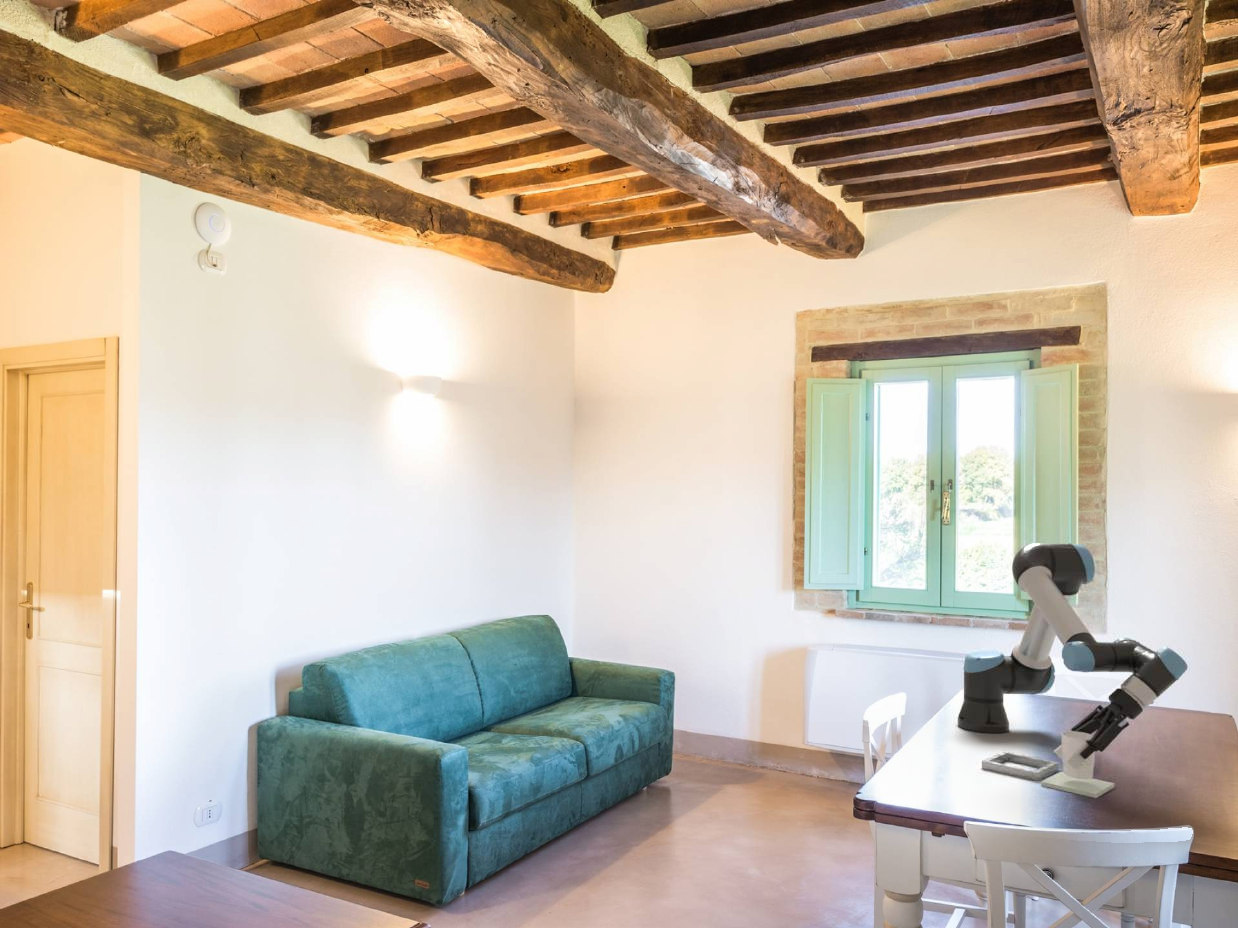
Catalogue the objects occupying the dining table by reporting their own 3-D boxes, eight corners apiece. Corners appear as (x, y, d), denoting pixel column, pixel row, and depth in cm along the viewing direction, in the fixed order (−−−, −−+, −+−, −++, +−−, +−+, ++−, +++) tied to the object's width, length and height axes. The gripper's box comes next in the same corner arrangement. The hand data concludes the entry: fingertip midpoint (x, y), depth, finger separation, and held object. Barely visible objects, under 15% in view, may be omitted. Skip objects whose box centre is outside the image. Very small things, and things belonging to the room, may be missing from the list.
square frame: (981, 768, 253) (981, 760, 253) (1004, 758, 263) (1004, 751, 263) (1037, 780, 242) (1037, 772, 243) (1058, 770, 253) (1058, 762, 253)
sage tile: (1041, 785, 239) (1041, 781, 239) (1060, 775, 248) (1060, 771, 248) (1096, 797, 229) (1096, 793, 229) (1114, 787, 239) (1114, 783, 239)
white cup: (1093, 772, 241) (1093, 732, 241) (1097, 781, 234) (1098, 740, 234) (1059, 769, 244) (1059, 729, 244) (1062, 777, 236) (1062, 737, 236)
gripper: (1162, 718, 228) (1091, 783, 228) (1124, 700, 248) (1059, 759, 249) (1139, 695, 228) (1068, 760, 229) (1103, 679, 249) (1038, 738, 250)
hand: (1064, 760), depth 239 cm, fingers closed on white cup, 8 cm apart
